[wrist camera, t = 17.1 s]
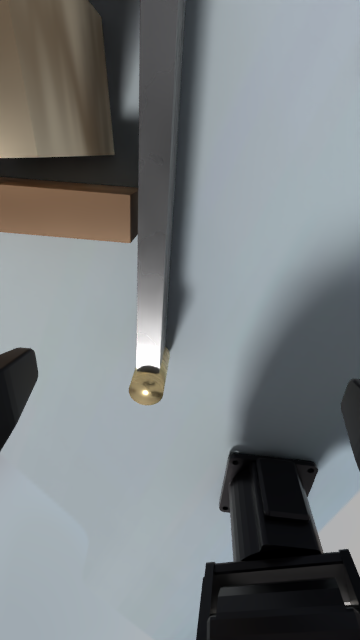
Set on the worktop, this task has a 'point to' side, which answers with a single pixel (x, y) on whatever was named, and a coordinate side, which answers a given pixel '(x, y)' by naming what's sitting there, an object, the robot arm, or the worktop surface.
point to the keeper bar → (156, 186)
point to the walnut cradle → (68, 209)
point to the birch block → (53, 80)
